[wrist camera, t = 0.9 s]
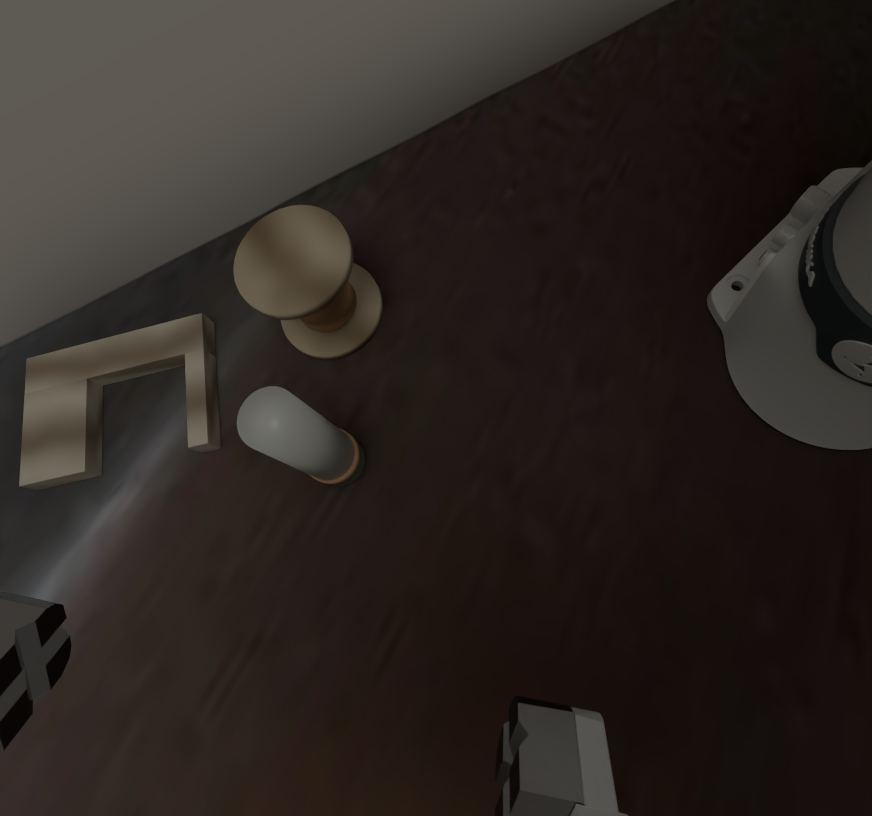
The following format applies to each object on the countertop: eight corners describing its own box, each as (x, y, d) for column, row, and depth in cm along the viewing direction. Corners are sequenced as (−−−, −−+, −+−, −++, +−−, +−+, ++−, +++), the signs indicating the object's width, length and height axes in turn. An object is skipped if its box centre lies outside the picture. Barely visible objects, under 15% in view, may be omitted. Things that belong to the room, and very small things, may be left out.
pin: (337, 426, 49) (264, 371, 36) (377, 454, 47) (315, 407, 35) (305, 468, 48) (221, 427, 36) (345, 498, 47) (271, 467, 34)
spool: (326, 250, 54) (284, 187, 45) (403, 295, 51) (373, 237, 42) (265, 327, 53) (210, 278, 44) (340, 378, 50) (297, 336, 41)
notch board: (44, 366, 56) (26, 358, 54) (214, 322, 54) (201, 313, 52) (38, 489, 52) (19, 486, 50) (220, 448, 50) (207, 443, 48)
